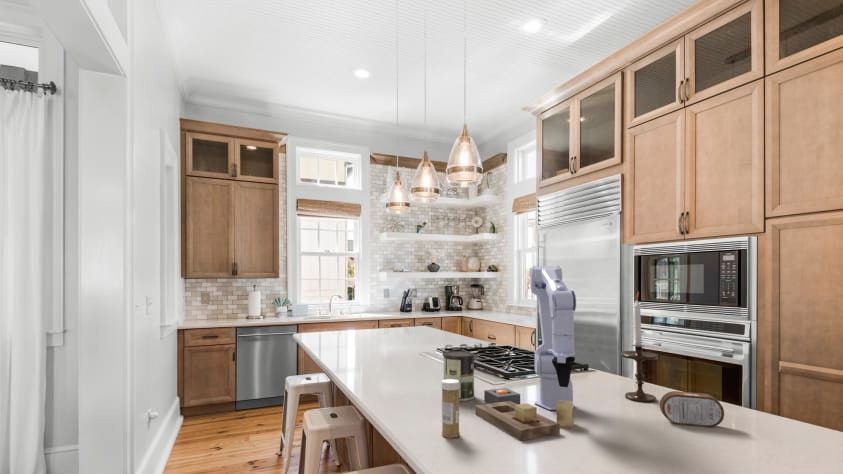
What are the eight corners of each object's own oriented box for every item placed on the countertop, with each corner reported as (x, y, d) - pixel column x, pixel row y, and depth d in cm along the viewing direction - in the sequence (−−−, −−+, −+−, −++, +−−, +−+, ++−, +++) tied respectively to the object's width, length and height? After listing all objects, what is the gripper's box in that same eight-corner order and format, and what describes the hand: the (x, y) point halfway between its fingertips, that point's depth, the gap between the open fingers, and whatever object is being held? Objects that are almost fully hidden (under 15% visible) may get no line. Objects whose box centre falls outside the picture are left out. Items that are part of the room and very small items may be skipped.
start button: (503, 396, 141) (503, 389, 141) (510, 399, 138) (510, 391, 138) (494, 397, 140) (493, 390, 140) (500, 400, 136) (500, 392, 137)
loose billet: (558, 421, 122) (557, 399, 122) (573, 423, 120) (572, 401, 121) (556, 426, 118) (556, 403, 119) (572, 428, 117) (571, 405, 117)
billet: (527, 426, 118) (527, 403, 119) (537, 431, 115) (536, 407, 115) (515, 428, 117) (514, 405, 117) (524, 433, 113) (523, 409, 114)
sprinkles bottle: (463, 436, 111) (463, 381, 112) (448, 439, 108) (448, 383, 110) (452, 430, 115) (452, 377, 116) (437, 434, 112) (437, 379, 113)
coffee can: (472, 392, 151) (472, 350, 152) (476, 401, 141) (475, 356, 142) (442, 392, 151) (442, 350, 153) (443, 401, 141) (443, 356, 142)
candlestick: (667, 401, 142) (662, 291, 144) (641, 405, 138) (637, 291, 140) (639, 392, 152) (635, 290, 155) (614, 395, 148) (611, 290, 151)
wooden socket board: (510, 409, 133) (510, 400, 133) (559, 434, 112) (559, 423, 113) (475, 414, 128) (475, 405, 128) (520, 440, 108) (520, 430, 108)
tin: (722, 426, 119) (720, 393, 120) (726, 430, 116) (724, 397, 117) (660, 420, 124) (658, 389, 124) (662, 424, 121) (661, 392, 121)
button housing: (505, 398, 144) (505, 387, 144) (520, 405, 136) (520, 394, 137) (484, 401, 141) (484, 390, 141) (498, 408, 133) (498, 396, 134)
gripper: (550, 330, 130) (551, 378, 128) (544, 337, 116) (545, 390, 115) (576, 331, 127) (577, 380, 126) (573, 338, 113) (574, 393, 112)
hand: (564, 385), depth 120 cm, fingers open, 3 cm apart
